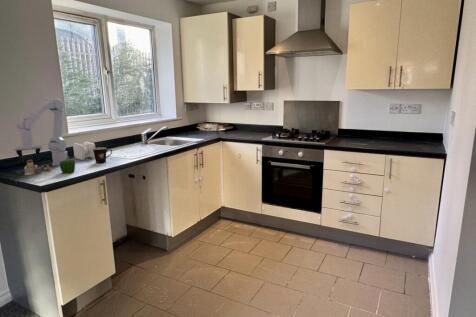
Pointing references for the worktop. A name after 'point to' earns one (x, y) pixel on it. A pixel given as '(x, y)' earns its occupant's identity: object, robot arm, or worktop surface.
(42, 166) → the clip
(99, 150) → the coffee mug
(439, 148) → the worktop surface
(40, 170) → the clip
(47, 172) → the board
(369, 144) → the worktop surface
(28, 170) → the end holder
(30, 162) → the connector plug
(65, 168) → the bell pepper
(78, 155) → the white lumpy block
